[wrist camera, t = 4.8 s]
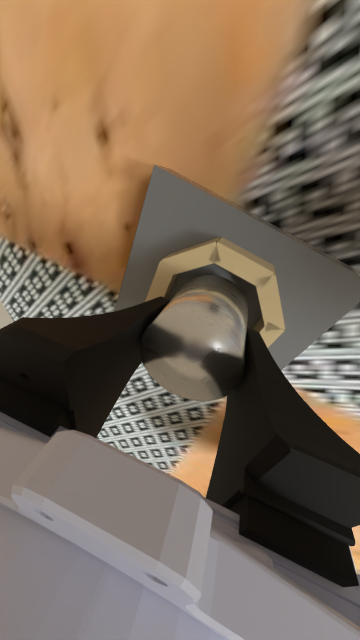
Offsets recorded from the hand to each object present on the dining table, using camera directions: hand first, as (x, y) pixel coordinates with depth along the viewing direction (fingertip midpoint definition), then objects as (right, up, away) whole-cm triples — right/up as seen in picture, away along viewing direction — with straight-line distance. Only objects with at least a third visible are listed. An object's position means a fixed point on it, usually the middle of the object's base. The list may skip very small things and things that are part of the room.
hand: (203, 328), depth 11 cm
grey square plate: (+2, +3, +4) cm, 5 cm away
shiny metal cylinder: (+1, +1, +1) cm, 2 cm away
